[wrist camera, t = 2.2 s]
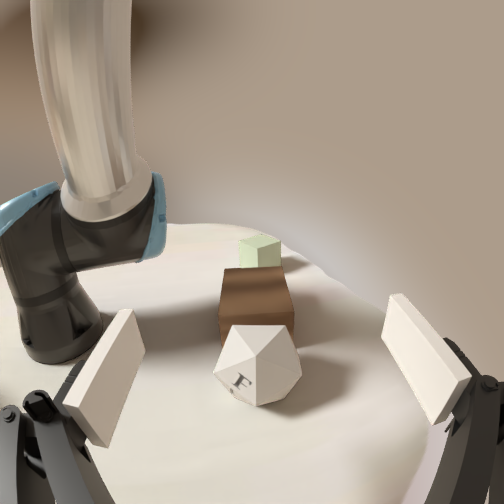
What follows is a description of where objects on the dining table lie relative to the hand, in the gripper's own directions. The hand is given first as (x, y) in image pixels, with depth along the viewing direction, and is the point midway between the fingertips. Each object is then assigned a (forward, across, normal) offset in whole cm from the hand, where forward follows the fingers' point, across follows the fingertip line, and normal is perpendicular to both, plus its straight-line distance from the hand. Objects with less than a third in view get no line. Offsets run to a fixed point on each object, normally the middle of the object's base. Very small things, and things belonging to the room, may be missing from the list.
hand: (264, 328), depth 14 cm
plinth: (+24, 0, -16) cm, 28 cm away
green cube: (+43, +1, -16) cm, 46 cm away
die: (+10, 0, -16) cm, 19 cm away
